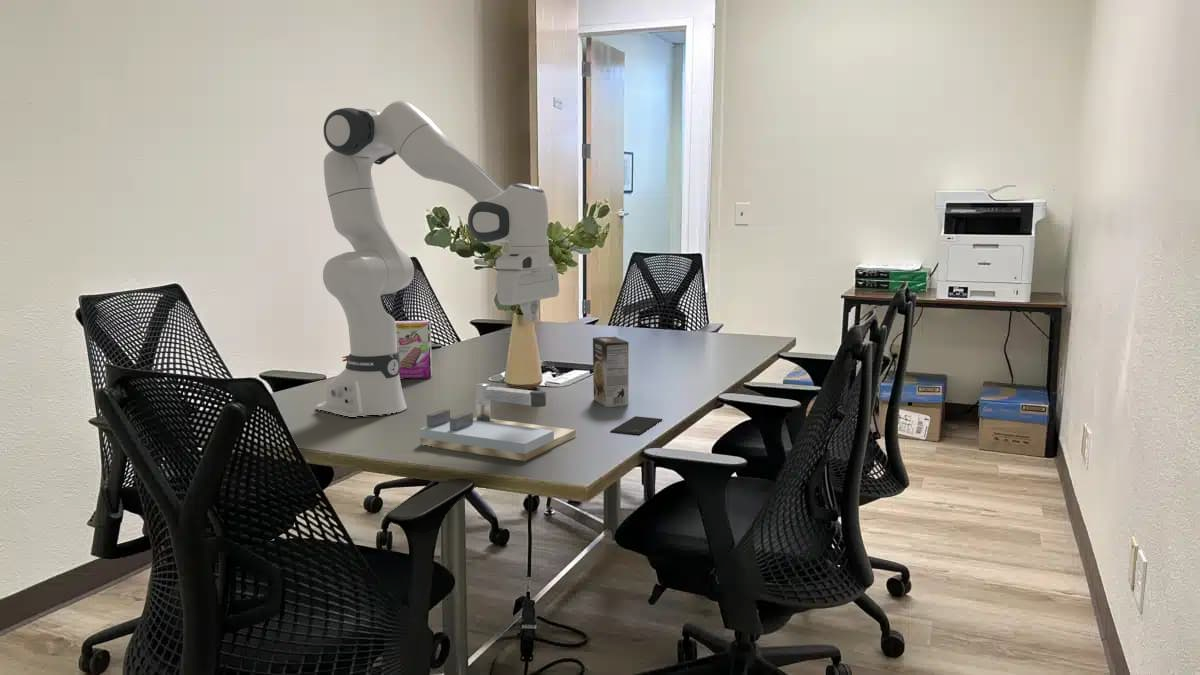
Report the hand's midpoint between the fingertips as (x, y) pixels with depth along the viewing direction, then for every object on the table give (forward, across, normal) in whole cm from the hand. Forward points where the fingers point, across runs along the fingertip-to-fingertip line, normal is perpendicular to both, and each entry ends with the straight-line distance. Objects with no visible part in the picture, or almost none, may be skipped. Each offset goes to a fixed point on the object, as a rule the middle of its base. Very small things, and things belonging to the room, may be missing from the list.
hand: (530, 321), depth 196 cm
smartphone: (+25, -11, +21) cm, 34 cm away
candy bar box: (+24, -32, -61) cm, 73 cm away
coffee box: (+24, -29, +5) cm, 38 cm away
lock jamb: (+24, +13, 0) cm, 27 cm away
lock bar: (+22, +6, -2) cm, 23 cm away
